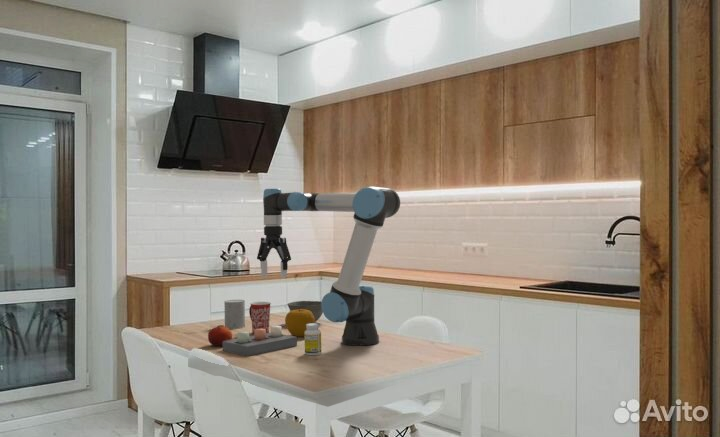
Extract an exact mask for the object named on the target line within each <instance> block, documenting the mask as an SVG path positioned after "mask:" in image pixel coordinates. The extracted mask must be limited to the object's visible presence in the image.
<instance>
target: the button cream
mask: <svg viewBox="0 0 720 437" xmlns="http://www.w3.org/2000/svg"><path fill="white" fill-rule="evenodd" d="M270 332H271V337H274V338H276V337H282V334H283V333H282V326H281V325H271V326H270Z"/></svg>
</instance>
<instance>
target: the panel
mask: <svg viewBox="0 0 720 437" xmlns="http://www.w3.org/2000/svg"><path fill="white" fill-rule="evenodd" d="M297 346H298V337H297V336H293V335H288V334H283V333H282V337H276V338H274V337H271V331H269V333H266V340H261V341H257V340H255V339H254V335H249V343H245V344H239V343H238V339H237V338H232V340H227V341H223V346H222V351H225V352H228V353H233V354H237V355H240V354H241V356H244V357H245V356H246V357H250V356H254V355H260V354H264V353H269V352H273V351H279V350H283V349H288V348H292V347H297Z"/></svg>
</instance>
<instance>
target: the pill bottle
mask: <svg viewBox="0 0 720 437" xmlns="http://www.w3.org/2000/svg"><path fill="white" fill-rule="evenodd" d="M319 325H320V324H319V323H318V322H317V323H316V322H315V323H311V324H306V329H307V330H306V331H305V333H304V337H303V338H304V354H305V355H307V356H318V355H321V354H322V332H321V330H320V328H319V327H320V326H319Z"/></svg>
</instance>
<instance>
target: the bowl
mask: <svg viewBox="0 0 720 437" xmlns="http://www.w3.org/2000/svg"><path fill="white" fill-rule="evenodd" d="M321 302H322V300H321V301H319V300H316V301H315V300H298V301H292V302H288V303H287V304H286V305H287V307H288V309H289V312H290V311H292V310H297V309H306V310H309V311H311V312H312V314H313V316H314V318H315V323H316V322H318V320H319V319H320V318H321V317H322V315H323V314H324V313H323V311H322V308H321Z"/></svg>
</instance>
